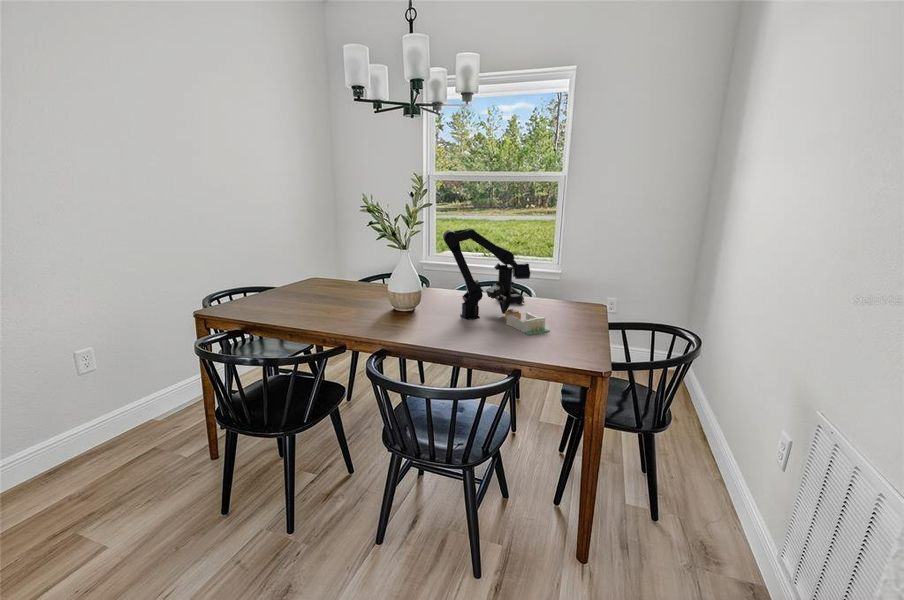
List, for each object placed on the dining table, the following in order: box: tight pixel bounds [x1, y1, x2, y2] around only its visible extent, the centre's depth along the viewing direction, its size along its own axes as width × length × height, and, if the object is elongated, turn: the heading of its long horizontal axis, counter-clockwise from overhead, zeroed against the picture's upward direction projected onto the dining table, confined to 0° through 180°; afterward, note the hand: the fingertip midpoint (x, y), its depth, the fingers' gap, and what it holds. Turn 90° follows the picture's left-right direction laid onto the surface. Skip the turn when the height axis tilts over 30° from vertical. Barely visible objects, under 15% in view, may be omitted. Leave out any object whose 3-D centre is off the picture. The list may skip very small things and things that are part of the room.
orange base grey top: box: [504, 308, 522, 321], centre depth 179 cm, size 4×5×5 cm
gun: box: [511, 285, 526, 305], centre depth 208 cm, size 3×16×10 cm, turn 53°
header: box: [506, 311, 551, 336], centre depth 170 cm, size 11×15×5 cm
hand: (503, 313), depth 186 cm, fingers closed
